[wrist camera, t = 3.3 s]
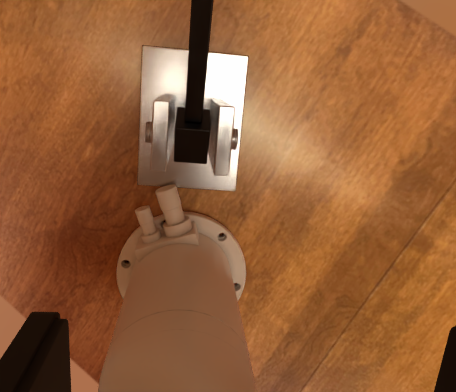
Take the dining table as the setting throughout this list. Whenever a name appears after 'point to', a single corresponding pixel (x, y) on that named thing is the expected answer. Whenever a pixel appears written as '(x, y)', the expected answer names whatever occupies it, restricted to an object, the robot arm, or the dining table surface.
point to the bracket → (176, 97)
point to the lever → (195, 91)
